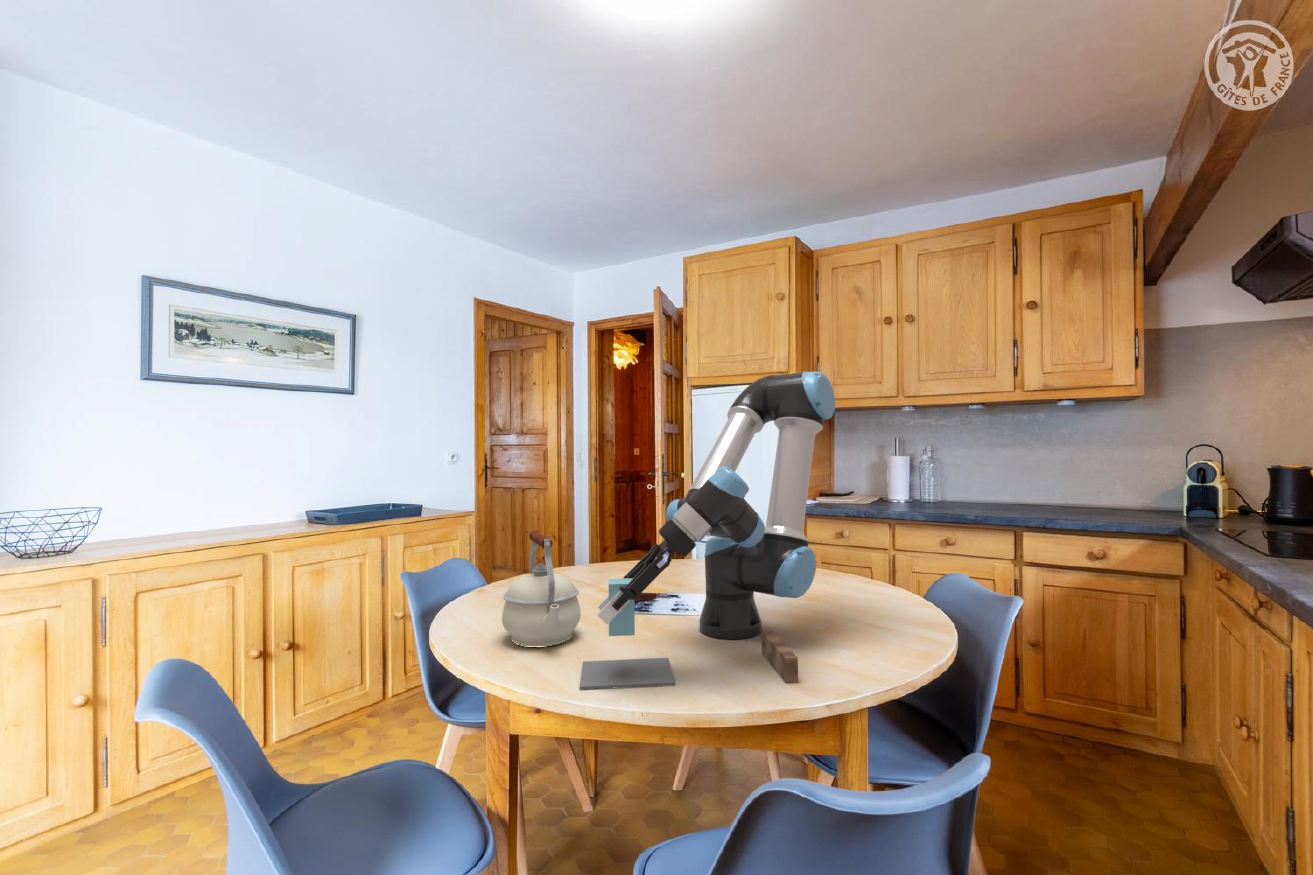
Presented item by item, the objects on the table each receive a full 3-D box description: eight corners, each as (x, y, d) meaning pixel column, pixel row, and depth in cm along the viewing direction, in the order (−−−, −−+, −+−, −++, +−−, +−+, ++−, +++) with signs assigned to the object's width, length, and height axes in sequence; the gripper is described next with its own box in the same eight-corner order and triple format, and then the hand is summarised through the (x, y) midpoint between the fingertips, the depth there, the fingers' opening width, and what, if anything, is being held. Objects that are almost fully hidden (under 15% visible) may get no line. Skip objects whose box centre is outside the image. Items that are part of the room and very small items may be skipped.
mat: (582, 664, 125) (582, 661, 125) (668, 660, 127) (668, 657, 127) (579, 689, 112) (579, 686, 112) (674, 685, 114) (674, 682, 114)
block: (609, 628, 121) (608, 578, 121) (633, 627, 121) (633, 578, 121) (608, 636, 116) (608, 584, 116) (634, 635, 116) (634, 583, 116)
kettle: (496, 630, 149) (494, 530, 149) (567, 620, 156) (566, 525, 156) (513, 664, 126) (511, 546, 126) (597, 651, 133) (595, 539, 133)
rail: (762, 654, 130) (761, 631, 130) (772, 654, 130) (772, 631, 130) (785, 684, 114) (785, 658, 114) (798, 683, 114) (797, 657, 114)
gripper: (704, 551, 111) (616, 643, 110) (691, 537, 129) (615, 615, 127) (676, 523, 111) (587, 614, 109) (667, 512, 129) (590, 591, 127)
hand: (602, 615), depth 118 cm, fingers closed on block, 5 cm apart
